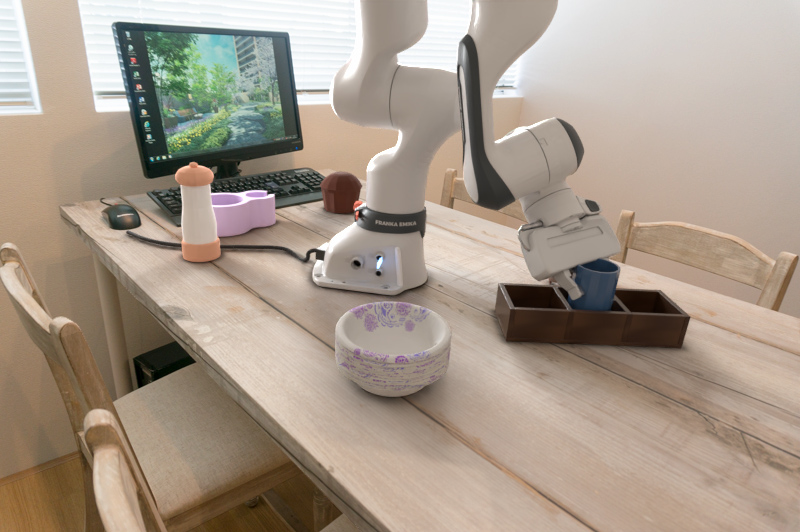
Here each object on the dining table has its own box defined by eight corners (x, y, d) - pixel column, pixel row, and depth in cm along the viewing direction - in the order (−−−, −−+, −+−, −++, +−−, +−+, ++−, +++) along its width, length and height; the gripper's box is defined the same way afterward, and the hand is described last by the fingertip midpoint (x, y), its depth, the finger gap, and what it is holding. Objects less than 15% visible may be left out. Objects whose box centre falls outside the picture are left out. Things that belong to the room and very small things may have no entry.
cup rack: (505, 341, 83) (510, 309, 81) (494, 312, 92) (498, 282, 90) (681, 348, 84) (690, 316, 82) (653, 318, 93) (660, 289, 91)
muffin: (343, 217, 138) (343, 179, 134) (311, 209, 144) (310, 172, 140) (369, 208, 148) (371, 172, 144) (339, 200, 153) (339, 166, 149)
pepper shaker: (191, 264, 104) (181, 168, 97) (177, 253, 109) (167, 160, 102) (226, 257, 108) (219, 164, 101) (211, 247, 113) (204, 157, 106)
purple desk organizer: (259, 213, 138) (258, 187, 135) (284, 226, 129) (283, 198, 127) (182, 226, 125) (179, 197, 122) (204, 241, 117) (201, 210, 114)
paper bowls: (356, 423, 63) (358, 366, 60) (321, 357, 75) (321, 308, 72) (467, 397, 69) (474, 344, 66) (417, 341, 81) (421, 294, 78)
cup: (571, 329, 84) (583, 272, 80) (559, 310, 91) (569, 255, 87) (613, 331, 85) (627, 274, 81) (598, 312, 91) (610, 257, 87)
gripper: (526, 216, 80) (568, 299, 77) (605, 200, 92) (644, 272, 88) (501, 235, 85) (539, 314, 82) (578, 218, 97) (615, 286, 93)
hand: (595, 292), depth 85 cm, fingers closed on cup, 7 cm apart
